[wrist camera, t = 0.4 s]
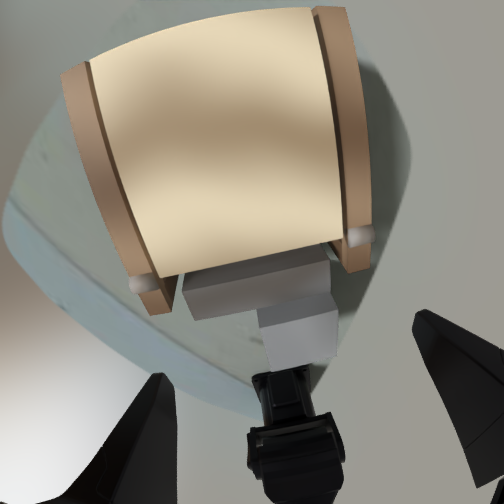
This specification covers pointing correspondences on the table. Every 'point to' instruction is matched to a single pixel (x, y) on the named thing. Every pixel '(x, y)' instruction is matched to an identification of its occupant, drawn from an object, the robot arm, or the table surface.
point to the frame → (347, 143)
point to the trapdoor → (228, 155)
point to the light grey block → (299, 331)
